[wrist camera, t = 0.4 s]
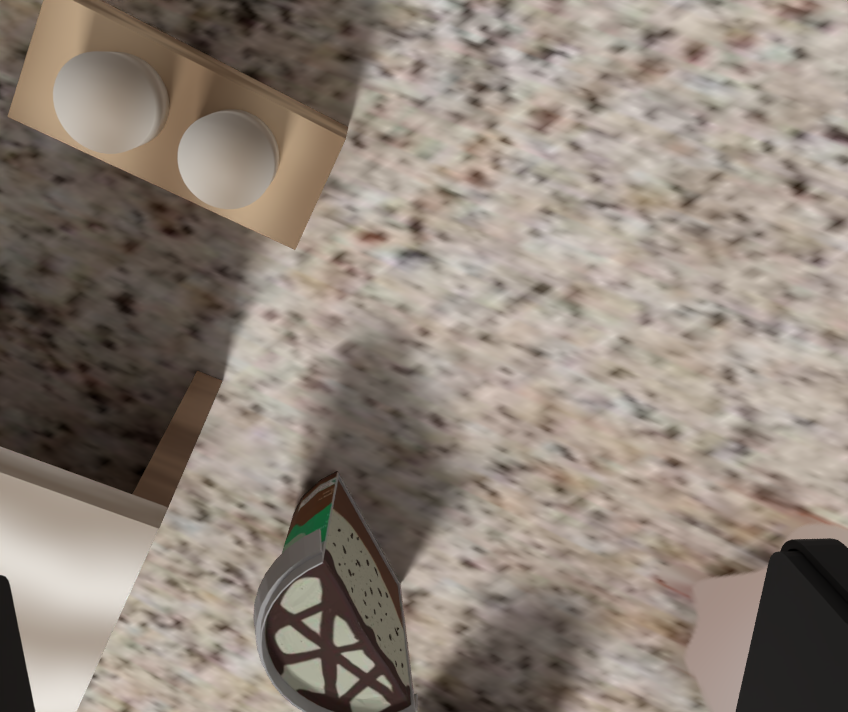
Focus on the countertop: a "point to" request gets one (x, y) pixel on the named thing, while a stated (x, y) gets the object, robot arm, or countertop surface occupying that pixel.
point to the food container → (334, 613)
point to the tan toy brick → (175, 117)
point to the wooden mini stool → (83, 551)
